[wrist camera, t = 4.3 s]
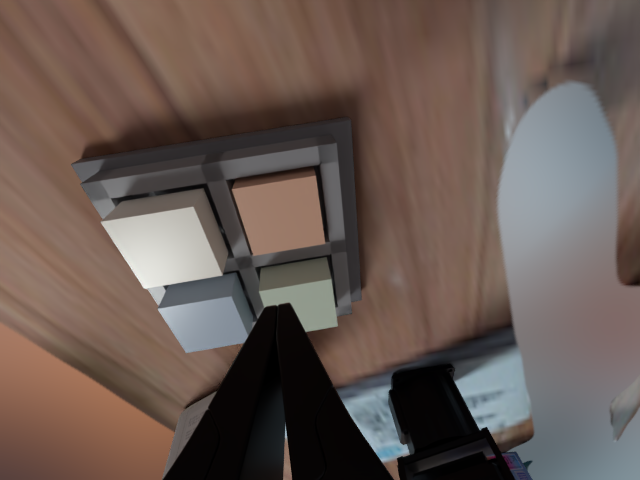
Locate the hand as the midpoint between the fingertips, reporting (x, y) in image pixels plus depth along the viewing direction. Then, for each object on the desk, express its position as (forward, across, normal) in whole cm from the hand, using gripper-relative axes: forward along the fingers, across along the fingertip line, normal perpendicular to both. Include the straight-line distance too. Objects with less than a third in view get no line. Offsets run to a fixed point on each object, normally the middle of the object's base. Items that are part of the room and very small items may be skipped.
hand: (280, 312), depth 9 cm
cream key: (+7, +5, 0) cm, 9 cm away
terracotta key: (+8, 0, 0) cm, 8 cm away
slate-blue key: (+7, +5, +6) cm, 11 cm away
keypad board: (+9, +3, +3) cm, 10 cm away
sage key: (+7, 0, +6) cm, 9 cm away
